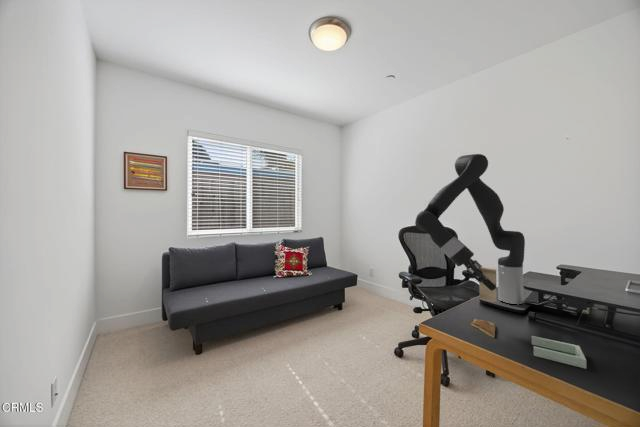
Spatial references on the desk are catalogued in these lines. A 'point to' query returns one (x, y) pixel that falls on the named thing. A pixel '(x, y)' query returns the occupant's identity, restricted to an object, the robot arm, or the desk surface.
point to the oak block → (484, 290)
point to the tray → (558, 356)
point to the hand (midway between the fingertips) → (494, 286)
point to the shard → (485, 327)
